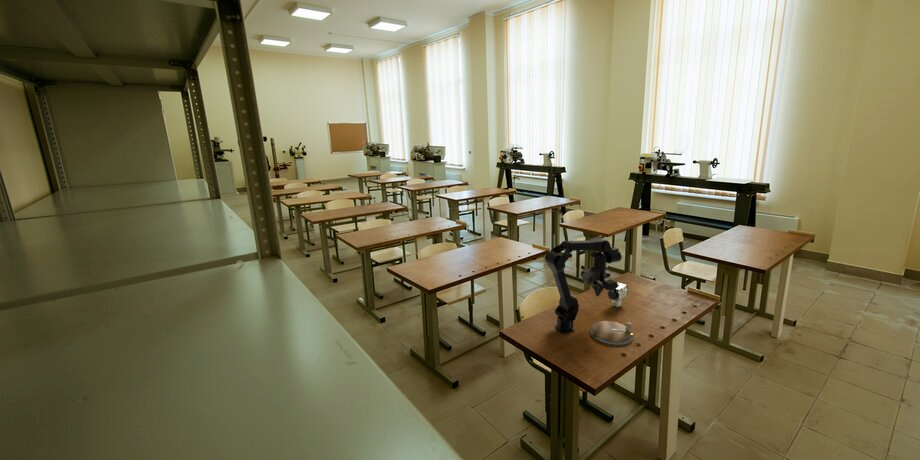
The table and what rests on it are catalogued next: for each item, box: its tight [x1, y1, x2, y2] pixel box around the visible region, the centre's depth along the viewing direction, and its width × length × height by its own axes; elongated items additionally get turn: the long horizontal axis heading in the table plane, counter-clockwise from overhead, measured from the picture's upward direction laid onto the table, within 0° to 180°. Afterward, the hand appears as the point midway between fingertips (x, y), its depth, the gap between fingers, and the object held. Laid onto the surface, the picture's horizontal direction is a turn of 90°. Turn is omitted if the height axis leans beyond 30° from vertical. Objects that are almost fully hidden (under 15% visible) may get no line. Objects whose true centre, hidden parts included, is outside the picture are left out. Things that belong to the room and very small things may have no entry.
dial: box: [592, 320, 633, 342], centre depth 172 cm, size 16×16×5 cm
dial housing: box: [589, 325, 634, 347], centre depth 173 cm, size 18×18×1 cm
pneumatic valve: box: [607, 282, 629, 308], centre depth 198 cm, size 6×12×12 cm, turn 129°
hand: (597, 296), depth 182 cm, fingers closed
